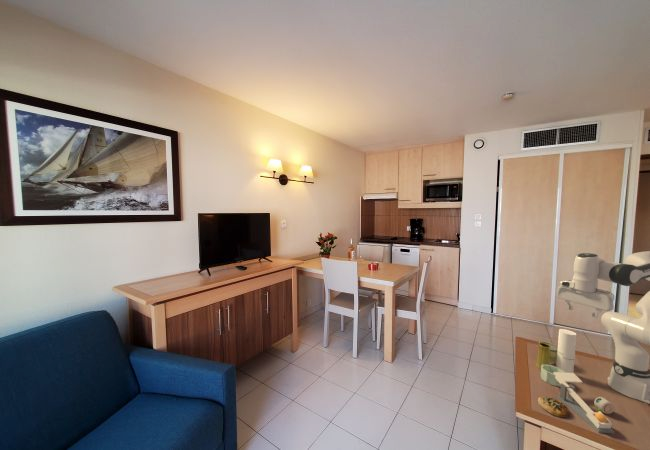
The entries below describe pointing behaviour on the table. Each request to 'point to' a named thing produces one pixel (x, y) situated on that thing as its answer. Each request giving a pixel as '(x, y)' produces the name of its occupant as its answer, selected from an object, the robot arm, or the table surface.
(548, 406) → the bread roll
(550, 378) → the cup
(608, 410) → the roller toy
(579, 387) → the table surface
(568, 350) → the cylindrical container
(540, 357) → the vase
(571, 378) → the lever
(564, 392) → the catapult base
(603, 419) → the ball
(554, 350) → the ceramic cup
